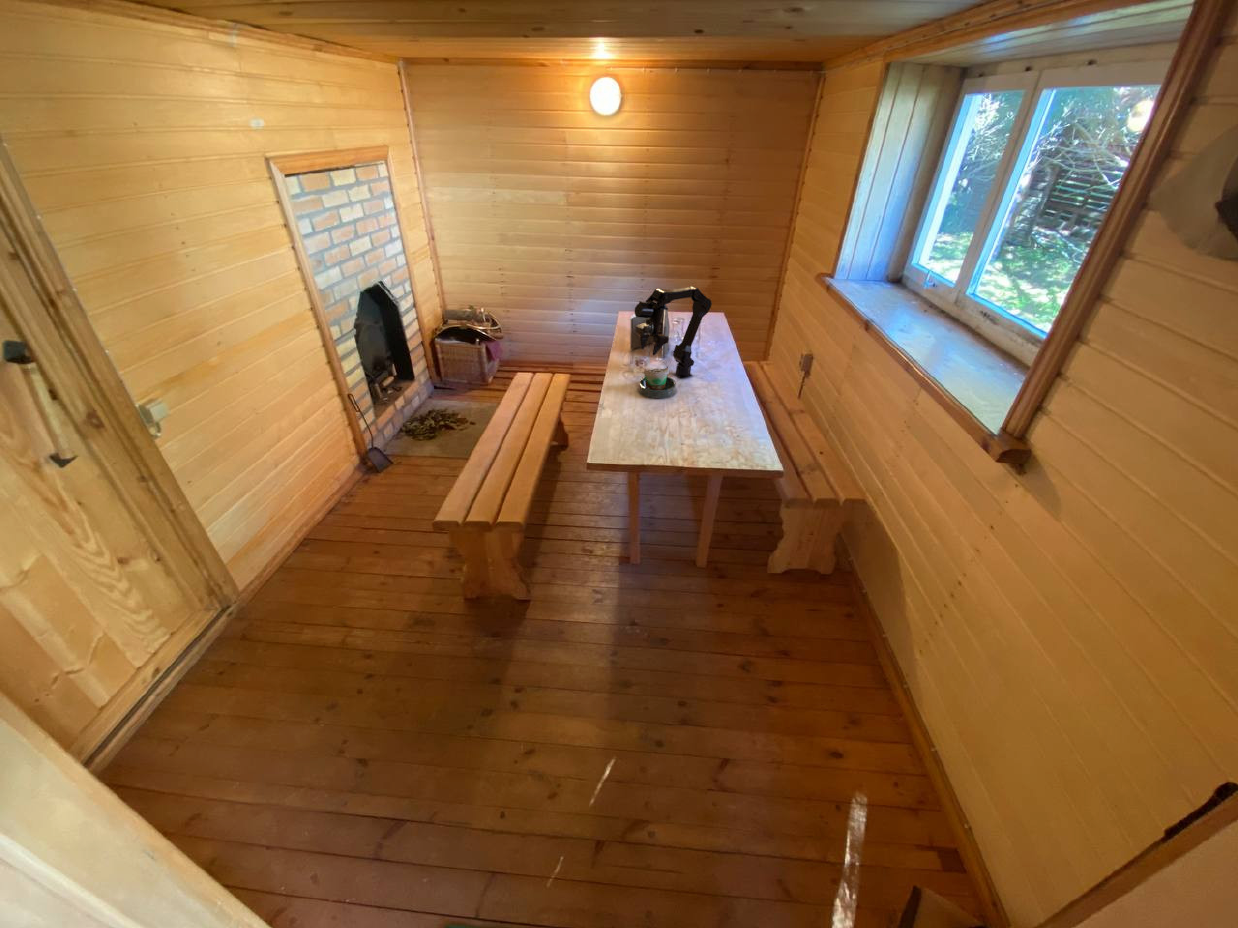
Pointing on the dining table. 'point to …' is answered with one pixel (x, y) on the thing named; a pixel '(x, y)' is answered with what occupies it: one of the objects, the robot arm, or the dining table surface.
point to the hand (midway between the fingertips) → (647, 352)
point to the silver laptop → (636, 341)
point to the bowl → (667, 392)
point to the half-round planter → (656, 378)
